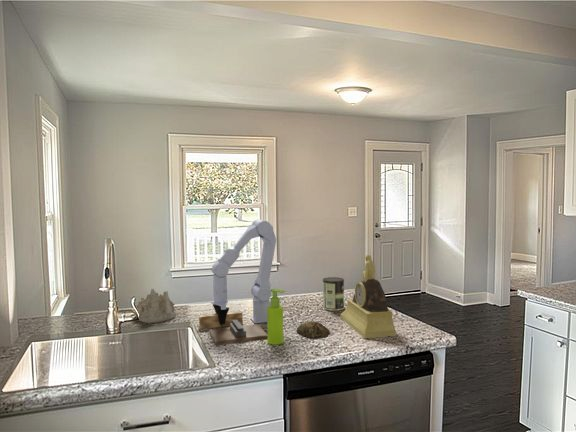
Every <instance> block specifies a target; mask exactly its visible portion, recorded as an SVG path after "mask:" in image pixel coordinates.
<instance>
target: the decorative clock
mask: <svg viewBox="0 0 576 432" xmlns="http://www.w3.org/2000/svg"><path fill="white" fill-rule="evenodd" d="M364 259H365V261H366V263H365V264H364V271H362V275H361V276H362V280H361V281H359V282H356V284H355V287H354V294H353V296H352V299H347V306H346V308H345V310H344V311H342V312H341V313H340V319H341V320H342V321H343V322H345V324H347V325H348V326H349V327H350V328H351V329H353V330H354V331H355V332H356V333H357V334H358V335H359V336H361V337H362V338H363V339H364V340H366V339H365V338H368V339H377V338H376V337H379V338H387V337H386V336H390V337H396V336H397V331H396V328H395V324H394V318H393V311H392V310H390V309H389V308H388V301H387V297H386V293H385V291H384V290H383V287H382V284H381V282H380V281H379V280H378V279H376V269H375V268H376V266H375V263H374V261H373V259H372V256H371V254H368V253H367V254H366V255H365V256H364Z"/></svg>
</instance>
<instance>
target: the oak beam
mask: <svg viewBox="0 0 576 432" xmlns="http://www.w3.org/2000/svg"><path fill="white" fill-rule="evenodd" d="M232 320H238V322H240V324H241V325H243V324H244V322H243V320H244V319H243V312H242V311H241V310H239V311H238V310H237V311H228V313H227V316H226V321H225V324H222V325H220V323H219V319H218V314H216V313H210V314H209V313H207V314H199V315H198V326H199V327H198V328H199V329H200V330H203V329H204V328H206V329H212V328H213V329H215V328H224V327H230V323H232ZM204 330H205V329H204Z"/></svg>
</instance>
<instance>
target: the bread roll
mask: <svg viewBox="0 0 576 432" xmlns="http://www.w3.org/2000/svg"><path fill="white" fill-rule="evenodd" d="M296 332H297V333H298V335H301V336H302V337H305V338H309V339H314V338H319V337H321V338H326V337H328V336H329V334H330V333H331V332H330V330H329V328H327V327H326V326H324V325H323V324H322V323H321V322H318V321H313V320H311V321H306V322H303V323H301V324H299V325H298V326H297V328H296Z"/></svg>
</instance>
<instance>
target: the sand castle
mask: <svg viewBox="0 0 576 432" xmlns="http://www.w3.org/2000/svg"><path fill="white" fill-rule="evenodd" d="M169 297H170V296H169V292H168V291H167V290H164V291H163V294H161V293H160V294H159V292H158V291H157V292H156V290H155V288H153V287H152V288H151V290H150V294H147V295H146V298H145V299H144V297H140V300H139V301H138V303H137V305H136V309H137V314H138V313H139V320H137V322H138V321H139V322H142V323H154V324H155V323H159V322H165V321H169V320H173V319H176V318H177V317H176V316H177V313H176V311H175V307H174V306H175V303H173V301H172V300H171V299H170V298H169ZM175 317H176V318H175Z"/></svg>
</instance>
